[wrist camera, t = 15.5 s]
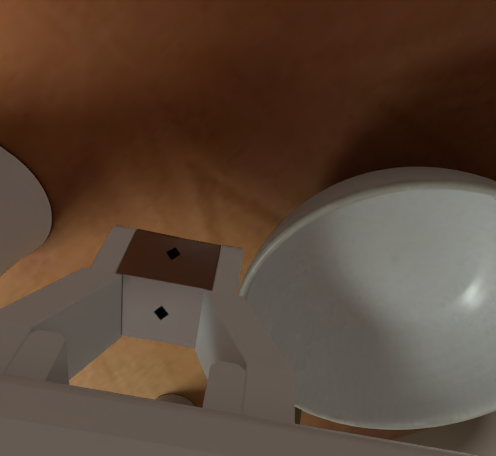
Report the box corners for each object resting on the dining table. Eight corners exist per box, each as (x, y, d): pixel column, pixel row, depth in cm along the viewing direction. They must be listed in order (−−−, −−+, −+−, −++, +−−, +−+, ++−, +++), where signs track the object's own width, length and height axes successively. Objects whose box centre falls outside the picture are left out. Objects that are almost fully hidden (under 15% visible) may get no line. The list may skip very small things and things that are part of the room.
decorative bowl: (517, 318, 50) (572, 420, 40) (276, 344, 56) (273, 439, 46) (543, 77, 36) (640, 144, 26) (214, 144, 41) (189, 220, 31)
